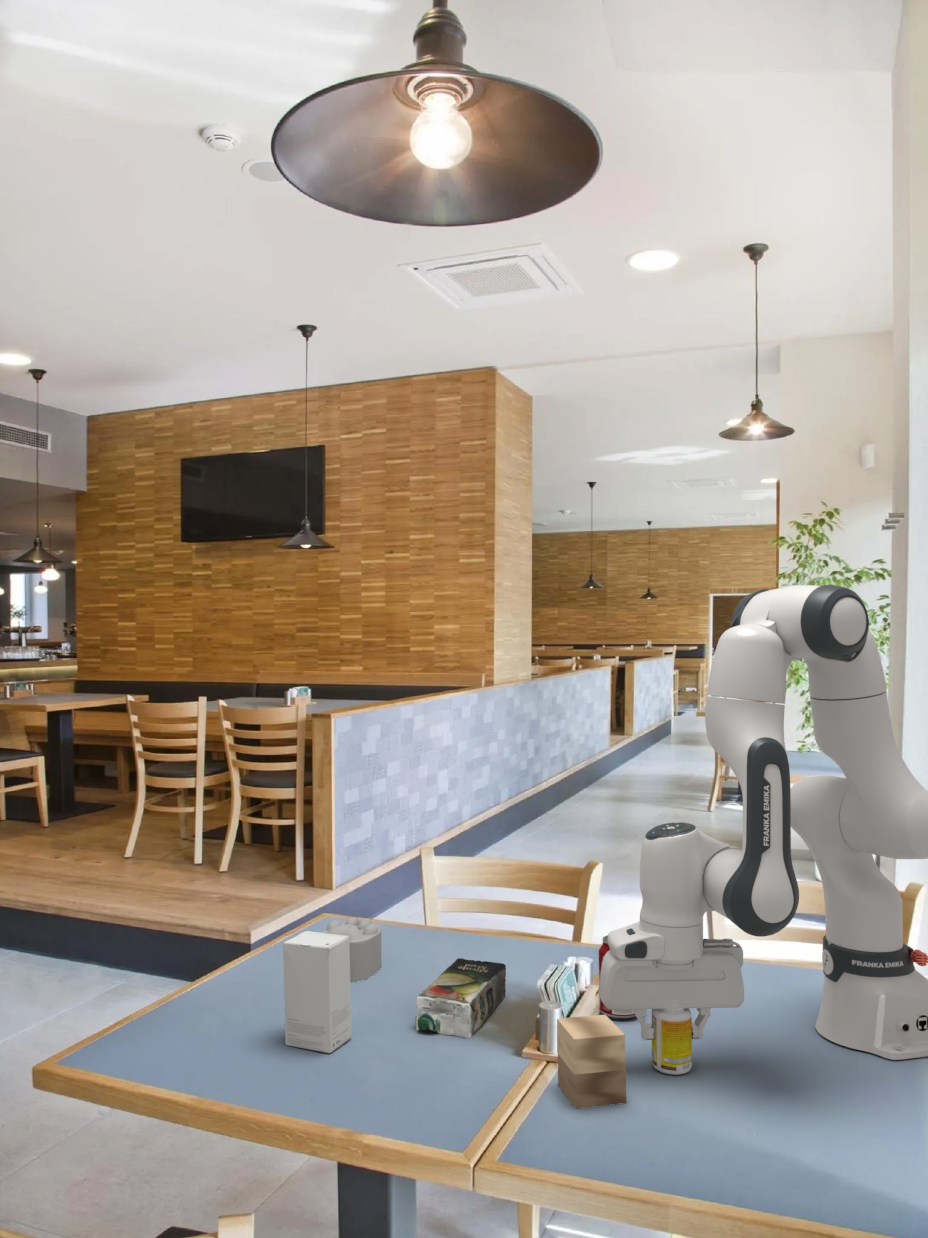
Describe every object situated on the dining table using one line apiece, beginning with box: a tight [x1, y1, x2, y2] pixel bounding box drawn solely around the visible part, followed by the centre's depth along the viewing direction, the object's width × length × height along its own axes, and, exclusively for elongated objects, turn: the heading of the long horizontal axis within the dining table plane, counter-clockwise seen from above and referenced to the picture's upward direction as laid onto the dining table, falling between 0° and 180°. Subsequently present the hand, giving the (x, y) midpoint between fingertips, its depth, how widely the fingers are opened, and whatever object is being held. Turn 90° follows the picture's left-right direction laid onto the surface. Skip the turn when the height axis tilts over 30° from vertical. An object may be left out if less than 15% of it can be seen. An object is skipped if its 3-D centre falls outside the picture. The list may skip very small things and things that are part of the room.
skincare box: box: [282, 930, 353, 1054], centre depth 141 cm, size 8×7×16 cm
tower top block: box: [556, 1014, 626, 1075], centre depth 125 cm, size 7×7×4 cm
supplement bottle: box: [651, 1000, 693, 1076], centre depth 133 cm, size 6×6×10 cm
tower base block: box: [557, 1053, 627, 1110], centre depth 125 cm, size 7×7×4 cm
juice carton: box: [415, 958, 507, 1039], centre depth 153 cm, size 20×10×6 cm, turn 161°
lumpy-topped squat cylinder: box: [320, 916, 382, 983], centre depth 174 cm, size 10×13×9 cm
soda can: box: [598, 934, 636, 1021], centre depth 153 cm, size 7×7×12 cm
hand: (671, 1038), depth 133 cm, fingers closed on supplement bottle, 6 cm apart
